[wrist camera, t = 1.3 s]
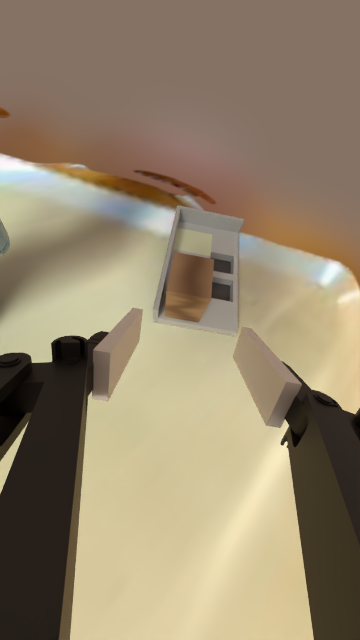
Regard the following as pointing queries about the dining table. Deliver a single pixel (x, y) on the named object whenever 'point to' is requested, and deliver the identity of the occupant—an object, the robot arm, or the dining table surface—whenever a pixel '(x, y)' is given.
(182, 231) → the deck
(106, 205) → the dining table surface
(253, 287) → the dining table surface
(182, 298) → the block
